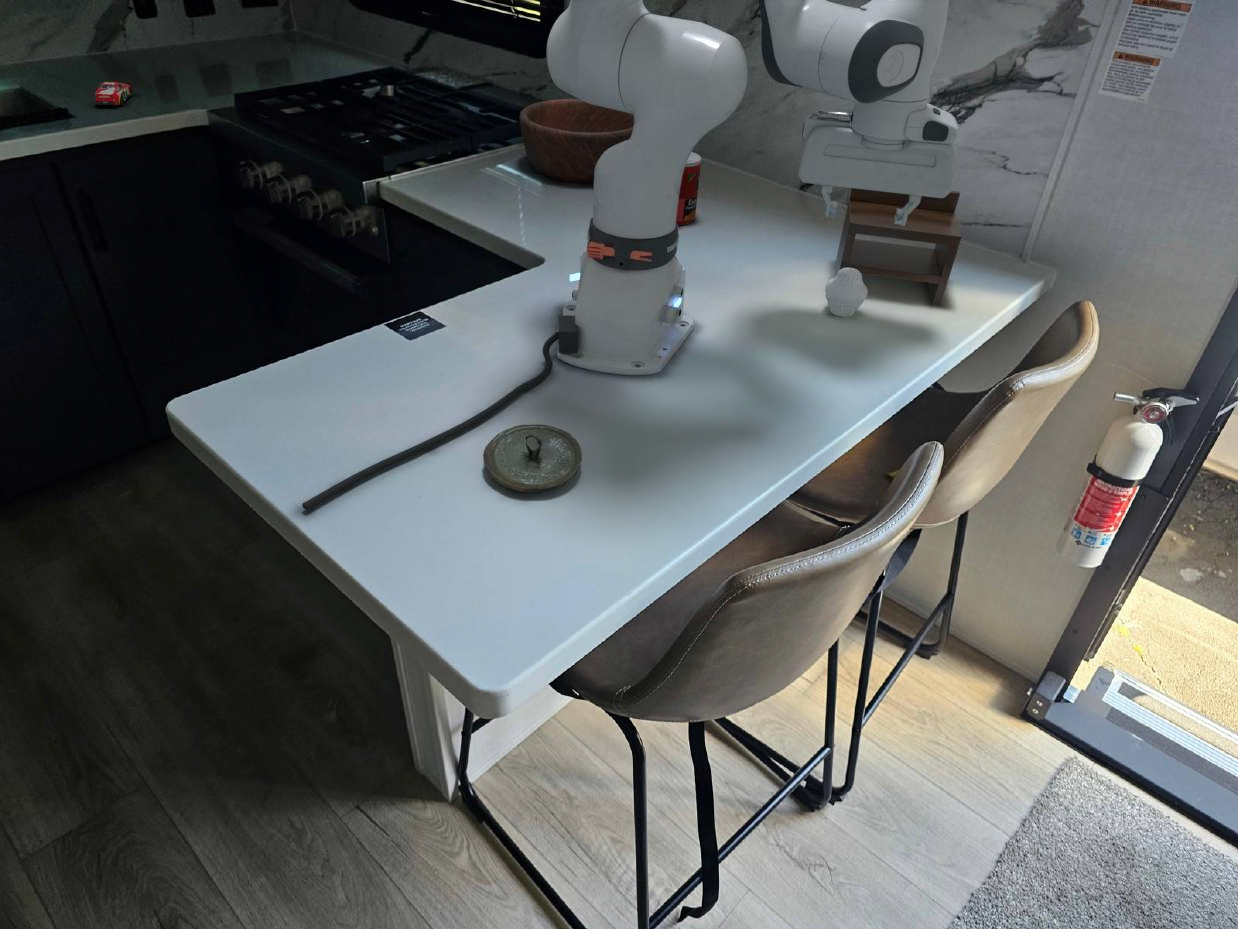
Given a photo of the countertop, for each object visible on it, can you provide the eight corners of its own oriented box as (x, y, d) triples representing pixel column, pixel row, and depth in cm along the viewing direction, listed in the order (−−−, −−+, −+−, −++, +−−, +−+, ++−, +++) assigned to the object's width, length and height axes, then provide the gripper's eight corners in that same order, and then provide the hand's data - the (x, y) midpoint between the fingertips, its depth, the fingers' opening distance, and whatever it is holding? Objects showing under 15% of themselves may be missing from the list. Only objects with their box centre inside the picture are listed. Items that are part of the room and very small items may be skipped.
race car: (111, 93, 198) (106, 74, 195) (136, 93, 199) (131, 75, 196) (93, 108, 187) (87, 89, 185) (119, 108, 188) (114, 89, 186)
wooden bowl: (601, 198, 159) (603, 142, 153) (495, 169, 169) (493, 115, 163) (665, 165, 176) (670, 113, 170) (566, 141, 186) (567, 91, 180)
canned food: (692, 228, 150) (698, 165, 143) (647, 222, 151) (652, 159, 144) (697, 212, 156) (704, 151, 149) (654, 207, 157) (659, 146, 150)
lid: (561, 445, 98) (555, 405, 96) (600, 475, 90) (594, 432, 88) (475, 472, 94) (467, 431, 92) (507, 505, 86) (499, 461, 84)
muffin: (812, 310, 126) (821, 266, 122) (835, 298, 130) (844, 255, 126) (847, 325, 123) (858, 281, 119) (870, 313, 126) (881, 269, 122)
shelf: (940, 305, 130) (967, 216, 121) (834, 291, 132) (854, 202, 124) (934, 276, 138) (959, 191, 130) (835, 263, 141) (853, 178, 132)
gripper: (805, 114, 108) (787, 219, 117) (971, 131, 105) (940, 237, 114) (807, 101, 113) (790, 202, 122) (966, 117, 110) (937, 219, 119)
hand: (864, 219), depth 118 cm, fingers open, 8 cm apart
